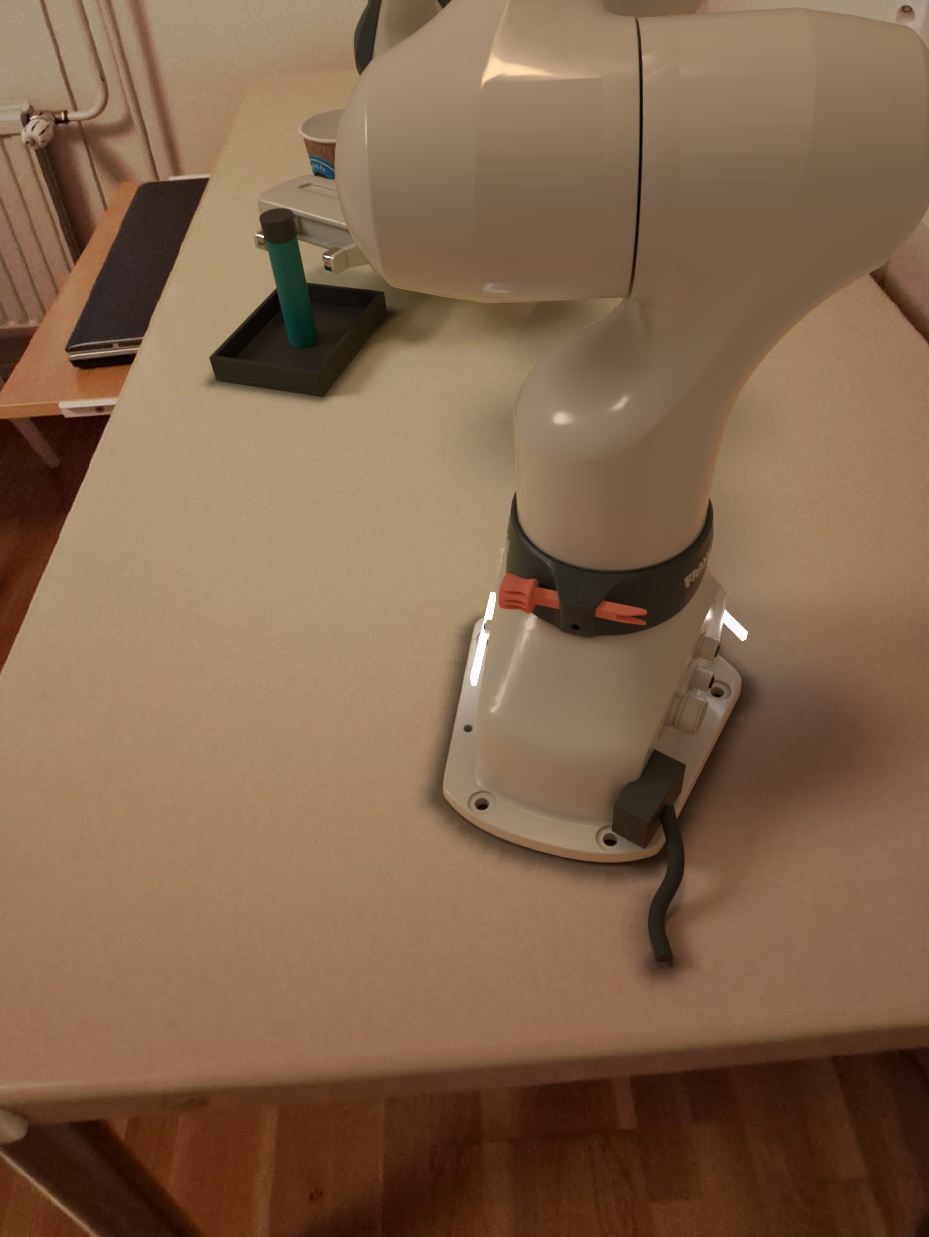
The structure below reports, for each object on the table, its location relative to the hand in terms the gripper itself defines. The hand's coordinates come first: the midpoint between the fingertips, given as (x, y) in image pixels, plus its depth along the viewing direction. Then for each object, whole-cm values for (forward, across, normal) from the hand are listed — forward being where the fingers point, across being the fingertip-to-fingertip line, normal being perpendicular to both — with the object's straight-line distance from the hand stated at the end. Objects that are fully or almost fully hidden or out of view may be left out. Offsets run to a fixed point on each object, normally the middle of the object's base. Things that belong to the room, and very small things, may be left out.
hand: (293, 253), depth 91 cm
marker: (+1, 0, +9) cm, 9 cm away
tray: (+1, 0, +9) cm, 9 cm away
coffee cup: (-23, -13, +10) cm, 28 cm away
